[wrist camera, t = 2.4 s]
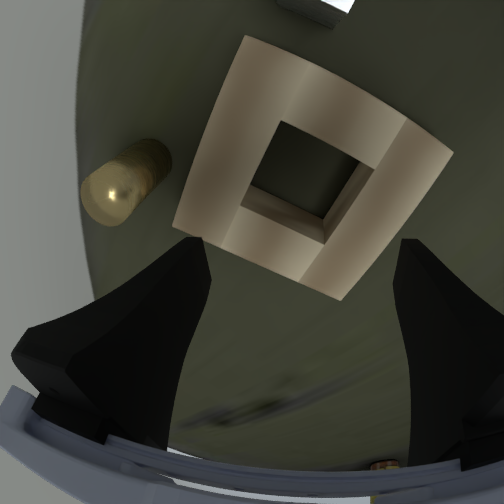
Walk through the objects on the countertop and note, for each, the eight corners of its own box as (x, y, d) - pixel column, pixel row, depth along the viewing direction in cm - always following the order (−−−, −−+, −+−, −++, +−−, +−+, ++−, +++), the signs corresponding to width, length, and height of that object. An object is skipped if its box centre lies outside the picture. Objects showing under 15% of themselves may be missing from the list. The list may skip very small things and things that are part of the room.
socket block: (434, 137, 16) (453, 152, 13) (338, 272, 23) (340, 300, 20) (255, 38, 14) (245, 35, 12) (187, 203, 21) (171, 226, 19)
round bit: (177, 148, 19) (133, 186, 14) (165, 188, 21) (124, 235, 16) (136, 132, 19) (83, 164, 14) (127, 172, 21) (78, 213, 16)
